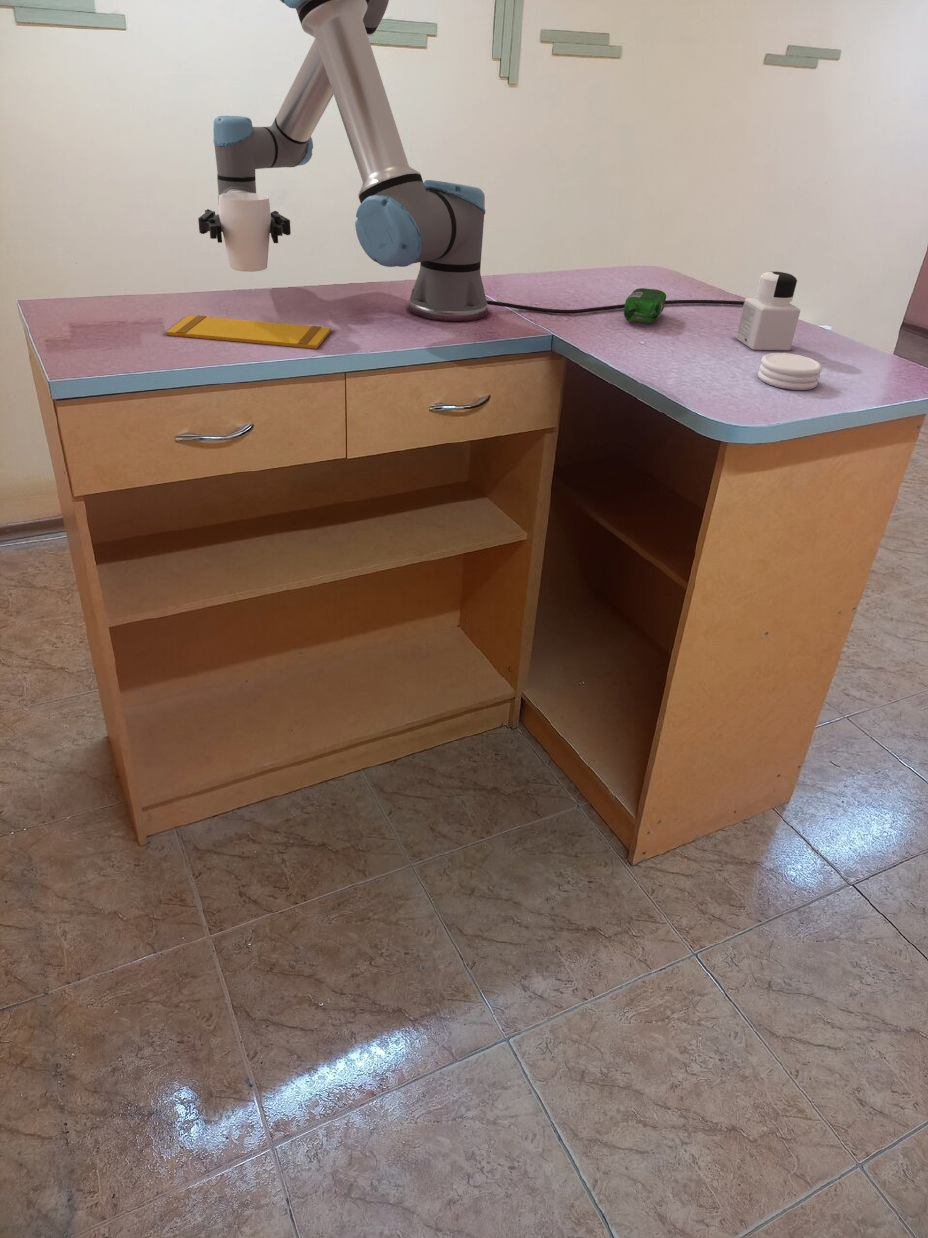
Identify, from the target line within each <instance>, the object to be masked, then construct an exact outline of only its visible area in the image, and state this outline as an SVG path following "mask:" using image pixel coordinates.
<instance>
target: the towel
mask: <svg viewBox="0 0 928 1238" xmlns="http://www.w3.org/2000/svg"><path fill="white" fill-rule="evenodd" d="M331 331H332V328H331V327H325V326H321V325H302V324H292V323H281V322H270V321H269V322H268V321H258V320H257V321H256V320H248V319H247V320H246V319H238V318H237V319H235V318H225V317H212V316H207V315H191V314H188V315H187V316H186V317H184V318H183V319H181V320H180V321H178V322H177V323H176V324H174V325H173V326H172V327H171V328H169V329H168V330H166V331H165V334H166V336H170V337H171V336H173V337H184V338H193V339H206V340H217V341H226V342H227V341H228V342H238V343H248V344H249V343H250V344H258V345H259V344H261V345H271V346H283V347H295V348H303V349H313V350H314V349H315V350H317V349H318V348H319V347H320V346H321V344H322V343H323V341H325V339H326V338H327V337H328V335H330V333H331Z"/></svg>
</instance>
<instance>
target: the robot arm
mask: <svg viewBox="0 0 928 1238" xmlns="http://www.w3.org/2000/svg"><path fill="white" fill-rule="evenodd" d="M279 1H280V2H281V3H282V4H284V5H285V6H287V7H288V8H289V9H295V11H296V14H297V16H298V19H299V20H298V21H299V22H300V26H301V28H302V30H303V32H304V33H306V34H307V35H309V36H311V37H313V38H314V40H313V42H312V44H311V46H310V47H309V50H308V52H307V54H306V56H305V57H304V60H303V62H302V64H301V66H300V68H299V70H298V72H297V73H296V76H295V78H294V80H293V82H292V84H291V86H290V88H289V90H288V92H287V94H286V96H285V98H284V100H283V102H282V104H281V106H280V108H279V110H278V112H277V114H276V116H275V118H274V120H273V122H272V124H271V125H270V126H253V121H252V120H251V118H249V117H247V116H241V115H240V116H239V115H219V116H216V117H215V118H214V119H213V130H212V131H213V146H214V153H215V163H216V173H217V175H216V176H217V178H216V181H217V193H218V195H220V194H223V193H233V192H245V193H257V182H256V170H262V169H278V168H279V169H281V168H295V167H298V166H299V167H300V166H304V165H306V164H308V163H309V162H310V160H311V159H312V157H313V149H314V143H313V138H312V135H313V133H314V131H315V130H316V127H317V126H318V124H319V122H320V120H321V118H322V116H323V114H324V113H325V111H326V110H327V108H328V105H329V104H330V102H331V100H332V99H333V97H334V100H335V103H336V106H337V110H338V112H339V115H340V118H341V121H342V124H343V127H344V130H345V133H346V136H347V140H348V143H349V145H350V148H351V152H352V154H353V157H354V160H355V163H356V167H357V169H358V172H359V175H360V178H361V181H362V184H361V187H360V190H359V191H358V194H357V197H358V200H359V203H360V204H359V206H358V208H357V209H356V214H355V217H356V220H355V222H354V223H355V224H354V226H355V227H354V228H355V234H356V237H357V240H358V242H359V244H360V246H361V249H362V250H363V251H364V253H365V254H366V255H367V256H368V258H370V259H371V260H372V261H373V262H375V263H377V264H378V265H380V266H382V267H387V268H395V267H397V268H398V267H399V268H400V267H401V268H403V267H404V268H405V267H409V266H411V265H414V264H417V263H420V264H419V270H418V274H417V276H416V280H415V283H414V285H413V287H412V289H411V292H410V294H411V295H410V297H409V311H410V312H411V313H413V314H414V315H416V316H419V317H422V318H425V319H431V320H437V321H445V322H446V321H447V322H467V321H469V322H470V321H476V320H480V319H482V318H484V317H485V316H487V313H488V312H487V311H488V306H496V307H503V308H510V309H516V310H523V311H530V312H539V313H546V314H547V313H548V314H561V315H564V314H565V315H566V314H567V315H571V314H572V315H573V314H586V313H593V312H601V311H602V312H603V311H610V310H619V309H624V307H625V303H624V304H613V305H605V306H594V307H587V308H578V309H560V308H559V309H558V308H547V307H539V306H530V305H522V304H516V303H510V302H503V301H496V300H488V299H487V297H486V292H485V287H484V283H483V279H482V275H481V264H482V263H481V262H482V252H483V239H484V238H483V237H484V225H485V215H486V206H485V205H486V197H485V192H484V191H483V189H481V188H479V187H477V186H471V185H466V184H459V183H454V182H448V181H441V180H433V179H425V181H424V180H423V177H422V174H421V173H420V171H418V170H416V169H415V168H412V166H410V165H409V162H408V159H407V155H406V151H405V149H404V147H403V143H402V140H401V136H400V133H399V129H398V127H397V123H396V121H395V117H394V115H393V111H392V108H391V105H390V102H389V98H388V96H387V91H386V89H385V86H384V82H383V79H382V76H381V73H380V70H379V68H378V67H379V66H378V63H377V61H376V58H375V54H374V51H373V48H372V45H371V41H370V38H369V36H372V35H374V34H375V32H376V31H377V28H379V26H380V25H381V22H382V20H383V18H384V15H385V13H386V11H387V9H388V5H389V3H390V0H279ZM218 195H217V200H218V202H217V203H218V205H219V196H218ZM197 222H198V231H199V234H201V235H204V234H207V233H208V232H209V236H210V237H209V238H210V239H211V240H215V239H216V240H217V243H218V244H219V243H223V237H222V236H223V231H222V227H221V222H220V217H219V213H216V211H214V210H212V209H208V208H207V209H205V210H204V213H203V214H201V216H199V217H198V220H197ZM283 235H285V236H290V235H291V219H289V218H287V217H285V216H283V215H282V214H280V213H279V211H277V210H274V211H271V223H270V237H271V239H272V242H273V244H279V237H283ZM744 302H745V300H744V301H743V300H726V299H724V300H723V299H671V300H670V299H669V300H665V305H683V304H684V305H685V304H686V305H687V304H689V305H690V304H691V305H692V304H696V305H697V304H698V305H699V304H701V305H704V304H705V305H706V304H707V305H733V306H736V305H737V306H744Z"/></svg>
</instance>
